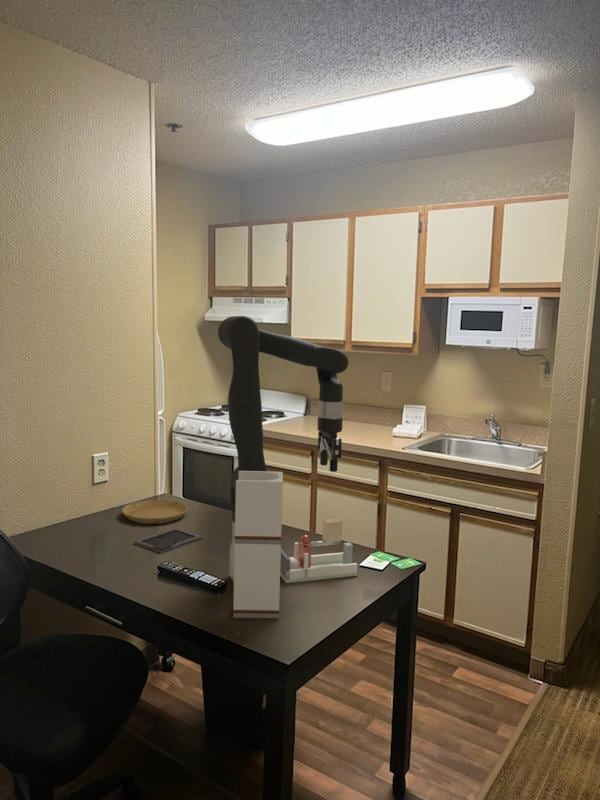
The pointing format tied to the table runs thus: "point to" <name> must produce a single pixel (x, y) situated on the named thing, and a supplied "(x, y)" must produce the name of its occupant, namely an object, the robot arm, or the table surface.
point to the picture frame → (168, 540)
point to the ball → (294, 564)
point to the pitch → (319, 565)
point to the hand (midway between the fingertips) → (328, 468)
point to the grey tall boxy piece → (257, 544)
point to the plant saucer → (154, 511)
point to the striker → (330, 537)
